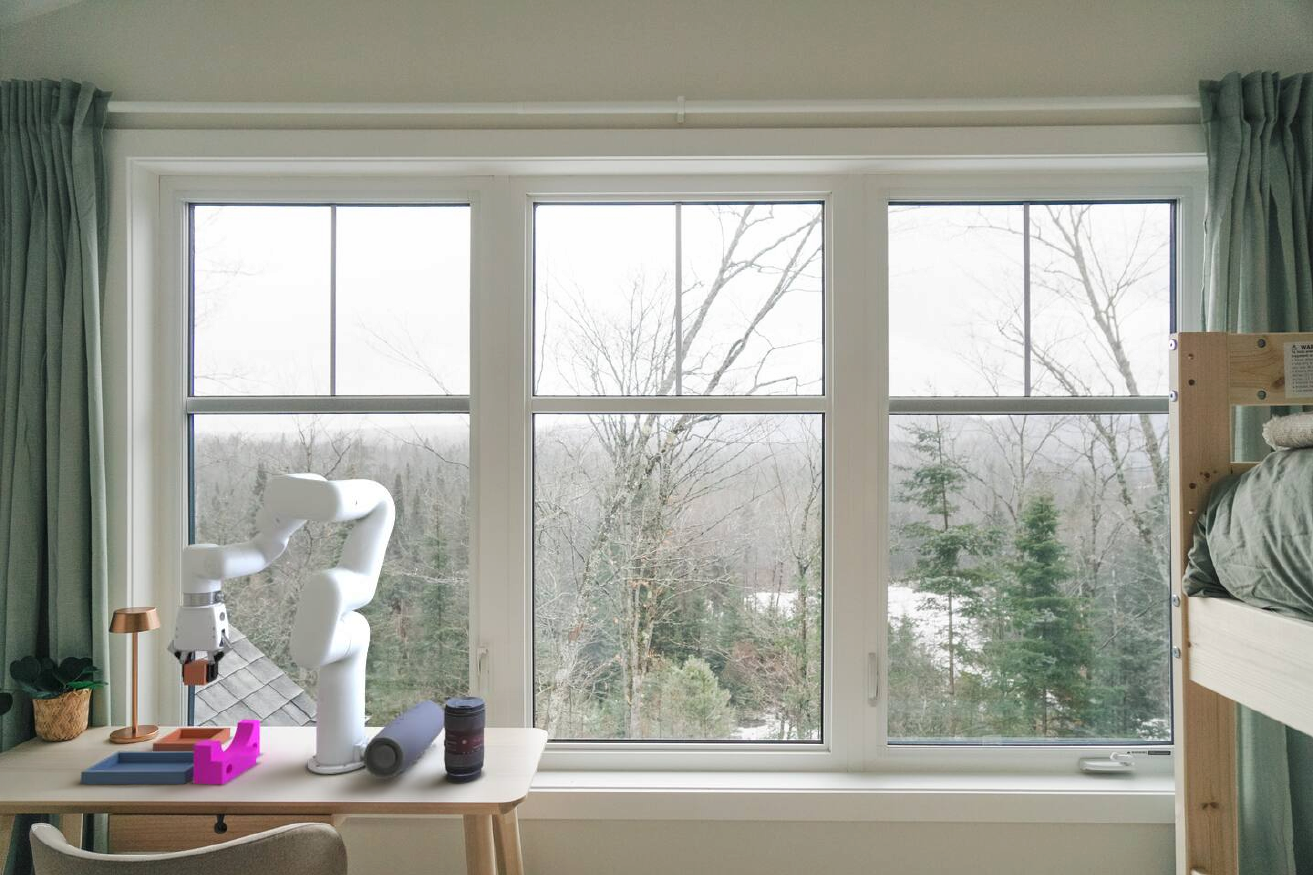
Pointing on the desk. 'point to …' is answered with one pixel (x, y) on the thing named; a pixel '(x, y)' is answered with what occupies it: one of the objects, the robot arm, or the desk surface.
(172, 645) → the robot arm
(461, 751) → the camera lens
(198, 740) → the terracotta tray
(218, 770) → the toy block
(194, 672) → the terracotta cube
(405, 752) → the bluetooth speaker
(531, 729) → the desk surface
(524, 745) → the desk surface
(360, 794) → the desk surface
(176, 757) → the blue tray
